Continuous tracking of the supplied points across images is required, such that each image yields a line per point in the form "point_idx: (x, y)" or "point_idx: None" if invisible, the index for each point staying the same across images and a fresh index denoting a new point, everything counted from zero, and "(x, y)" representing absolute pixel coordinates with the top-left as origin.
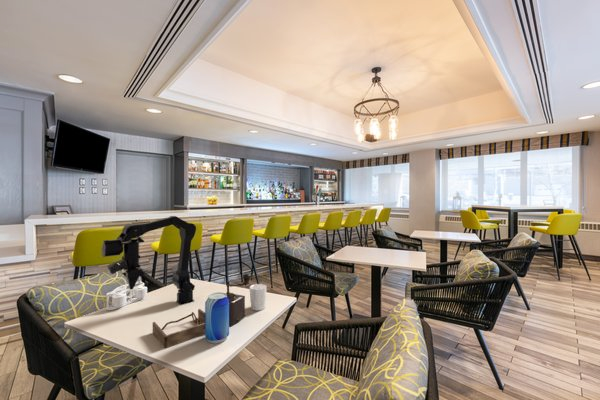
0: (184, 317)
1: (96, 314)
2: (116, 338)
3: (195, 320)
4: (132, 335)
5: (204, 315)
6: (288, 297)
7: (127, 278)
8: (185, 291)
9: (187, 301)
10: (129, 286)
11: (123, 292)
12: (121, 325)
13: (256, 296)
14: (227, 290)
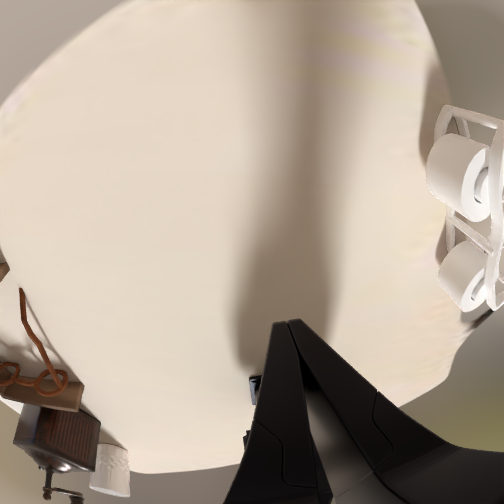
0: (48, 369)
1: (416, 48)
2: (2, 129)
3: (40, 376)
4: (3, 193)
5: (38, 399)
6: (147, 473)
7: (366, 463)
8: (247, 433)
9: (254, 394)
10: (285, 350)
11: (492, 213)
12: (134, 134)
13: (92, 472)
14: (46, 477)
